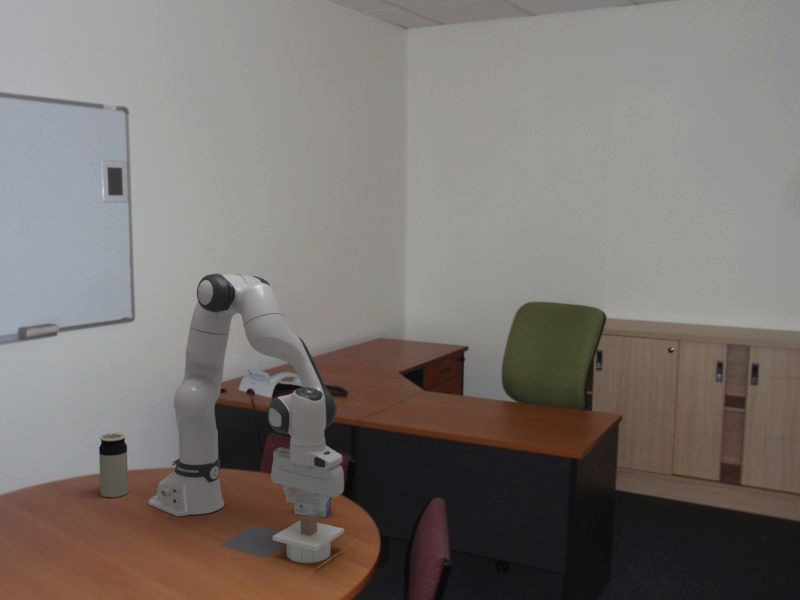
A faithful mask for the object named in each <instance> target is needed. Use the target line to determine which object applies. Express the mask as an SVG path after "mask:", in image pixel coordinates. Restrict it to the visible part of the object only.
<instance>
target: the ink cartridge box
mask: <svg viewBox="0 0 800 600" xmlns="http://www.w3.org/2000/svg"><path fill="white" fill-rule="evenodd" d="M294 495H295V502H294V513H293V514H294V515H303V516H305V515H307V514H308V515H312V516H317V518H324V519H326V518H327V517H329V515H330V514H331V513H332V510H333V509H332V507H333V506H332V502H333V501H332V498H333V497H330V498H329V500H328V501H327V503H326V509H325V510H324V511H319V510H317V508H318V507H317V504H318V503H320V502H322V500H323V499H322V498H321V494H317V493H313V492H309V491H305V490H301V489H297V488H294Z"/></svg>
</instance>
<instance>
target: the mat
mask: <svg viewBox="0 0 800 600" xmlns="http://www.w3.org/2000/svg"><path fill="white" fill-rule="evenodd" d="M279 532H280V531H279V530H274V529H271V528H266V527H263V526H257V525H253V526H251V527H248V528H247V529H245V530H244V531H243V530H242V532H239V533H238V534H235V536H232V537H231V538H228V539H227V540H225V541H224V542H222V543H220V544H218V546H220V547H224V548H228V549H231V550H235V551H239V552H242V553H246V554H250V555H254V556H258V557H261V558H267V557H269V556H271V555H272V554H274V553H277V551H279V550H281V549H282V548H284V547H286V546H287V544H286V543H282V542H278V541H274V540H273V536H274V535H276V534H278V533H279Z"/></svg>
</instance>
